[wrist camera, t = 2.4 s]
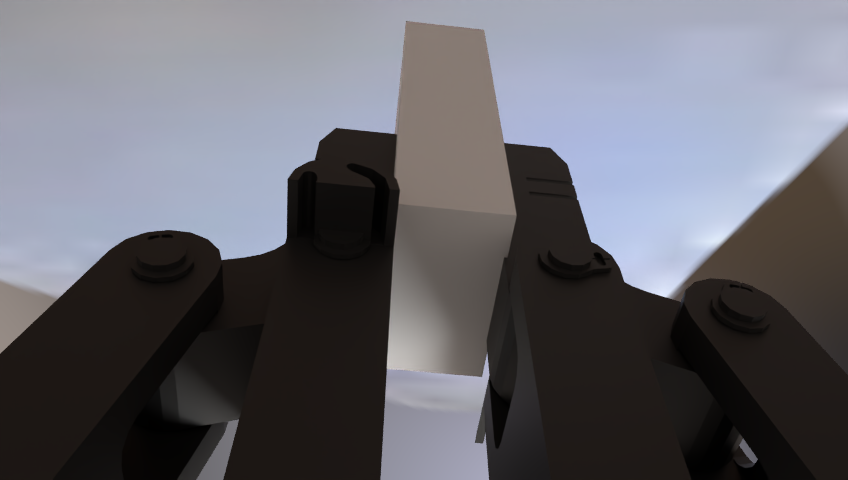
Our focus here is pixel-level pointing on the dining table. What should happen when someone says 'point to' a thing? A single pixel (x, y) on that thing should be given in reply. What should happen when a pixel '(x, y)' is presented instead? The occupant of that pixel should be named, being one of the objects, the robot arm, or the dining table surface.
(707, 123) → the dining table surface
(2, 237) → the dining table surface
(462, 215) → the robot arm
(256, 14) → the dining table surface
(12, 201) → the dining table surface
